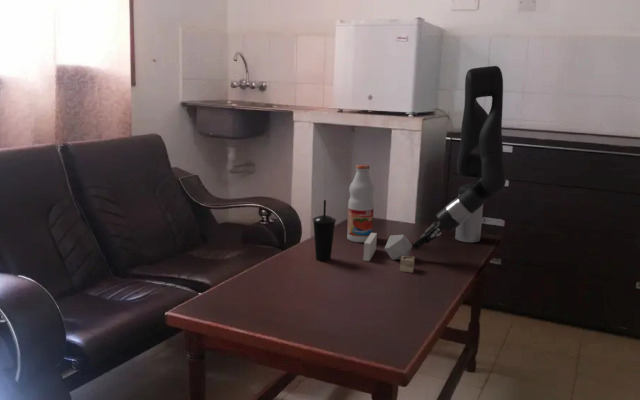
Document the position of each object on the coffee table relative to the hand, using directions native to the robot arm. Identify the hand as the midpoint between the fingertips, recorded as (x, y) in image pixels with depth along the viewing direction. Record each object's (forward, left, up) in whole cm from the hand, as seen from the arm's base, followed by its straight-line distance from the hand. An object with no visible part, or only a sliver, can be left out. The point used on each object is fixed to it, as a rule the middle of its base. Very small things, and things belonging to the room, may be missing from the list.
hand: (414, 247), depth 205 cm
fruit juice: (-18, -22, -5) cm, 29 cm away
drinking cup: (+10, -29, -5) cm, 31 cm away
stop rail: (0, -15, -4) cm, 16 cm away
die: (0, -5, -4) cm, 7 cm away
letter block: (+12, -1, -4) cm, 12 cm away
